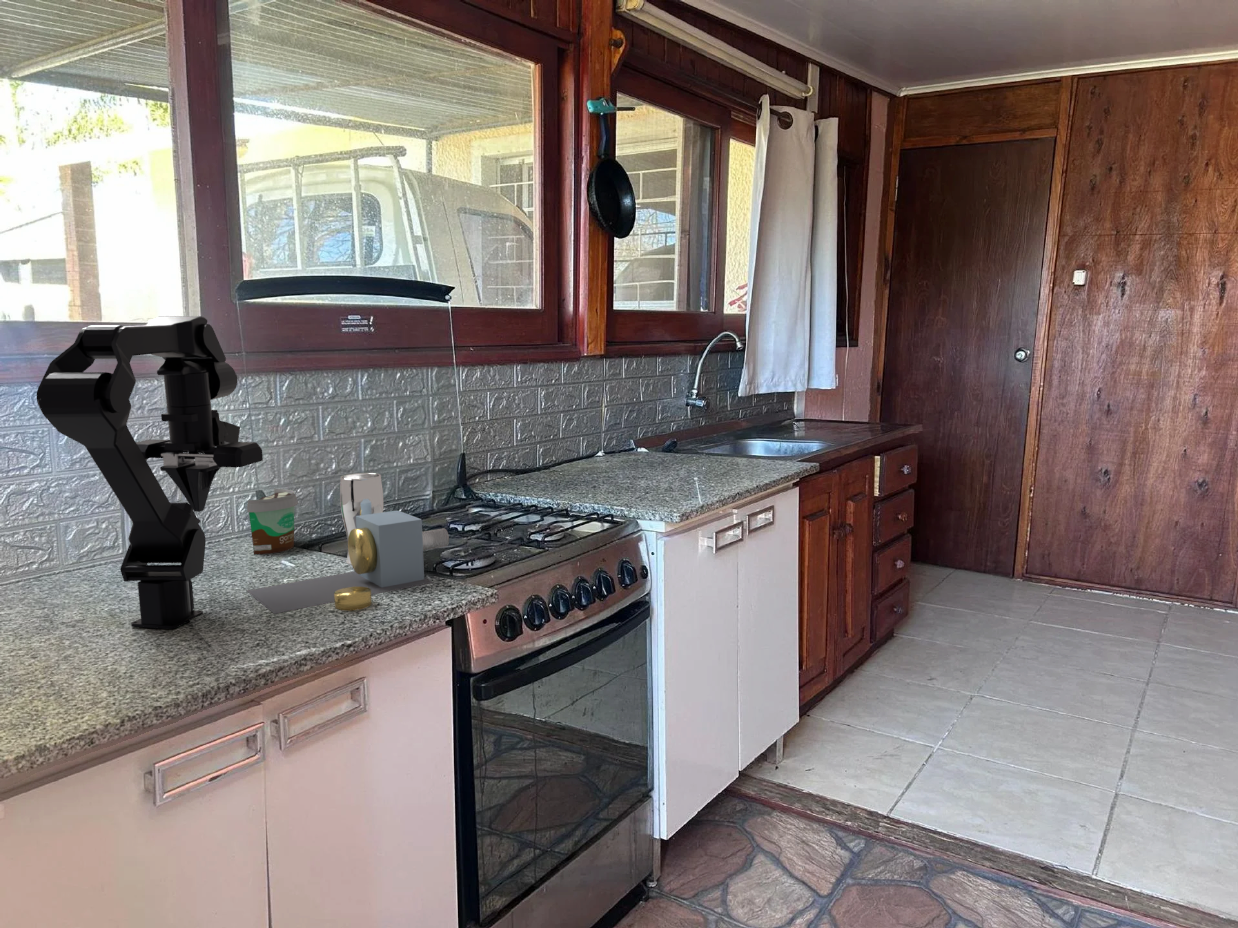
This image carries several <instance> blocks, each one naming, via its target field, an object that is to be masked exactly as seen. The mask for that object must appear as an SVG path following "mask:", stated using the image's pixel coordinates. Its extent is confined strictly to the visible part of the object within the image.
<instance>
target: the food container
mask: <svg viewBox="0 0 1238 928" xmlns="http://www.w3.org/2000/svg"><path fill="white" fill-rule="evenodd" d="M298 504H299V500H298V497H297V495H296V493H295V491H294V490H292V489H285V488H274V489H273V494H271V495H269V496H268V495H267V496H262V497H261V498H260V499H247V506H246V513H248V515H249V525H250V532H251V538H252V540H251V541H252V546H253V547H252V549H253V555H254V556H255V554H261V555H270V554H276V553H277V554H278V553H282V552H285V551H288V550H291V549H293V548H294V547H295V512H296V511H295V510H296V508H295V506H297V505H298Z"/></svg>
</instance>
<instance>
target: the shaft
mask: <svg viewBox="0 0 1238 928" xmlns="http://www.w3.org/2000/svg"><path fill="white" fill-rule="evenodd" d="M422 537H423V551H429V550H433V549H439V548H445V547H448V546H449V544H450V543H449V542H450V536H449V532H448V529H446V528H445V527H444V528H443V527H442V528H437V529H431V530H430V529H429V530H426V531H425V530H424V531H423V530H422ZM348 551H349V557H350V561H351V564H352V565H351V566H352V569H353V570H354V571H355V572H356V573H357V574H365V573H370V572H373V571H374V570H375V567H376V563H377V550H376V544H375V540H374V537H373V535H372V533H371V531H370V530H369V529H368V528H358V529H353V530H351V532H350V534H349V538H348V539H347V552H348Z"/></svg>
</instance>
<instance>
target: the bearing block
mask: <svg viewBox="0 0 1238 928" xmlns="http://www.w3.org/2000/svg"><path fill="white" fill-rule="evenodd" d="M356 527H357V529H358V528H368V529H369V530H370V531H371V533H372V535H373V537H374V540H375V544H376V550H377V563H376V567H375V570H374V571H373V572H370V573H365V574H359V575H360V576H362V577H364V578H365V579H367V580H369V581H371V582H373V583H374V584H376V585H378V586H380V587H387V586H392V585H397V584H403V583H408V582H413V581H418V580H424V578H425V568H424V567H425V566H424V565H425V563H424V550H423V537H422V532H423V519H421V518H419V517H416V516H413V515H411V514H408V513H406V512H403V511H401V510H393V511H392V510H389V511H383V512H382V513H375V514H368V515H360V516H356Z"/></svg>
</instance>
